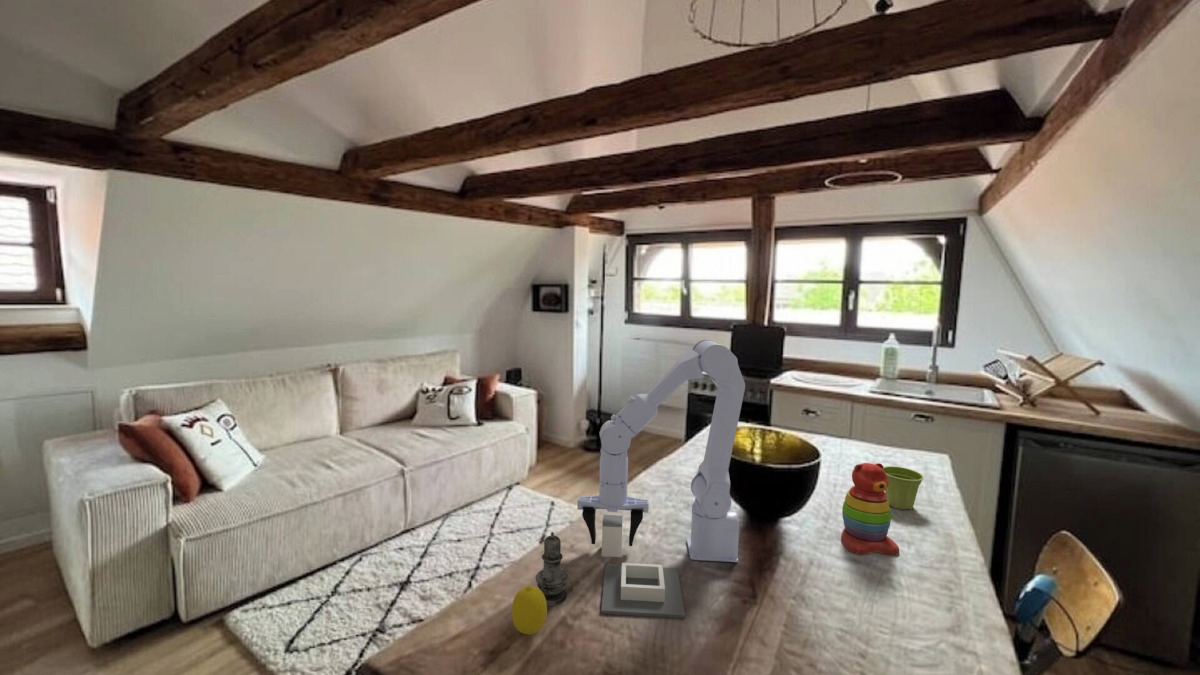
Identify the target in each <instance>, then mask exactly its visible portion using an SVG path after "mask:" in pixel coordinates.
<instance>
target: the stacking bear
mask: <svg viewBox="0 0 1200 675" xmlns="http://www.w3.org/2000/svg"><path fill="white" fill-rule="evenodd" d="M883 467H884V465H883V464H882V463H878V462H877V463H875V464H874V463H870V462H863V463H860V464H859V463H858V464H856V465H854V467H853V470H852V473H851V480H852V483H853V485H852V487H850V489H849V490H847V492H846V495H845V497H844V501H843V505H842V511H841V512H842V514H841V515H842V521H843V526H844V528H843V530H842V532H841V535H840V541H841V543H842V545H843V546H844V547H845V548H846V549H847V550H848V551H849V552H851V553H853V554H856V555H863V556H864V555H868V554H870V553H881V554H885V555H890V556H894V555H895V556H896V555H899V553H900V547H899V546H898V544H897V542H895V541H894V540H892V538H890V537H889V536H888V533H889V529H890V526H891V522H892V521H891V520H892V512H891V505H889V501H888V499H887V498H888V497H887V495H886V493H885V490H886V488H887V487H888V484H889V480H888V477H887V475H886V473H885V471H884V470H883Z"/></svg>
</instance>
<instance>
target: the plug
mask: <svg viewBox="0 0 1200 675" xmlns="http://www.w3.org/2000/svg"><path fill="white" fill-rule="evenodd" d="M602 517H603V518H602V524H601V525H602V526H601V528H602V530H601V532H602V533H601V534H602V535H601V540H602V541H601V557H607V558H622V552H623V551H622V550H623V549H622V548H623V547H622V546H623V517H624V516H623V515H620V514H618V515H617V514H603V516H602Z"/></svg>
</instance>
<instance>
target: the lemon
mask: <svg viewBox="0 0 1200 675" xmlns="http://www.w3.org/2000/svg"><path fill="white" fill-rule="evenodd" d="M547 616H548V605H547V603H546V599H545V596H544V594H543V592H542V591H541V590H540V589H539V587H538V586H537V587H536V586H535V585H526V586H524V587H521V589H520V590H518V591H517V592H516V594H515V595H514V598H513V600H512V605H511V619H512V622H513V625H514V627H515V629H516V630H517V631H518V632H520V633H521V634H525V635H528V636H530V635H532V634H535V633H537V632H539V631H540V630H541V629H542V627H543V626H544V625H545V622H546V620H547Z"/></svg>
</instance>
